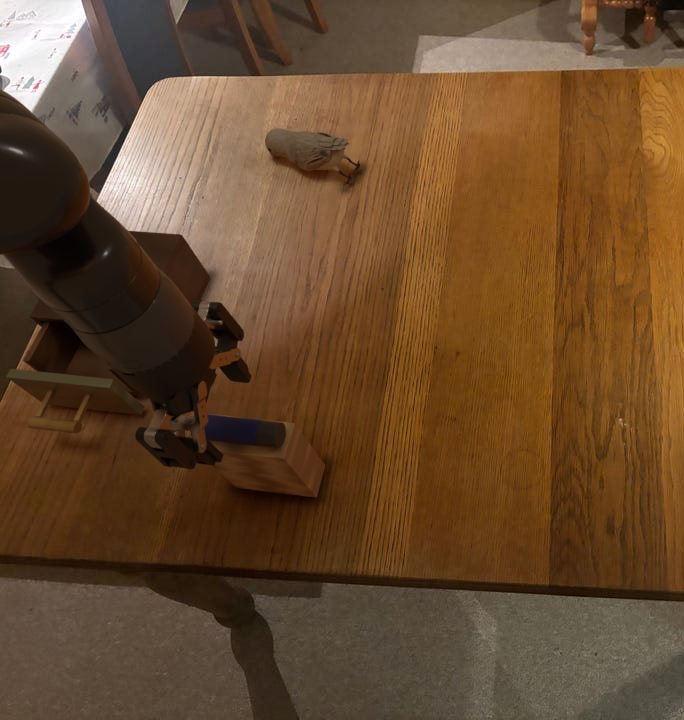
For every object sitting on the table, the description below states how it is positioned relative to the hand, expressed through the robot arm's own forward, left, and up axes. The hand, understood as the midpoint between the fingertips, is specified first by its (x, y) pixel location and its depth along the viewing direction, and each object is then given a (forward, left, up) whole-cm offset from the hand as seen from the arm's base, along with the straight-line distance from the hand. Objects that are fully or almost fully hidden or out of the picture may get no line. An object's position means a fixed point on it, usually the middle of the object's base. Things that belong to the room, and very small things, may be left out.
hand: (227, 417), depth 64 cm
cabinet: (-7, +33, -16) cm, 37 cm away
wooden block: (0, 0, -16) cm, 16 cm away
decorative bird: (+25, +45, -16) cm, 54 cm away
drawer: (-14, +24, -15) cm, 32 cm away
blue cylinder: (0, 0, -4) cm, 4 cm away
